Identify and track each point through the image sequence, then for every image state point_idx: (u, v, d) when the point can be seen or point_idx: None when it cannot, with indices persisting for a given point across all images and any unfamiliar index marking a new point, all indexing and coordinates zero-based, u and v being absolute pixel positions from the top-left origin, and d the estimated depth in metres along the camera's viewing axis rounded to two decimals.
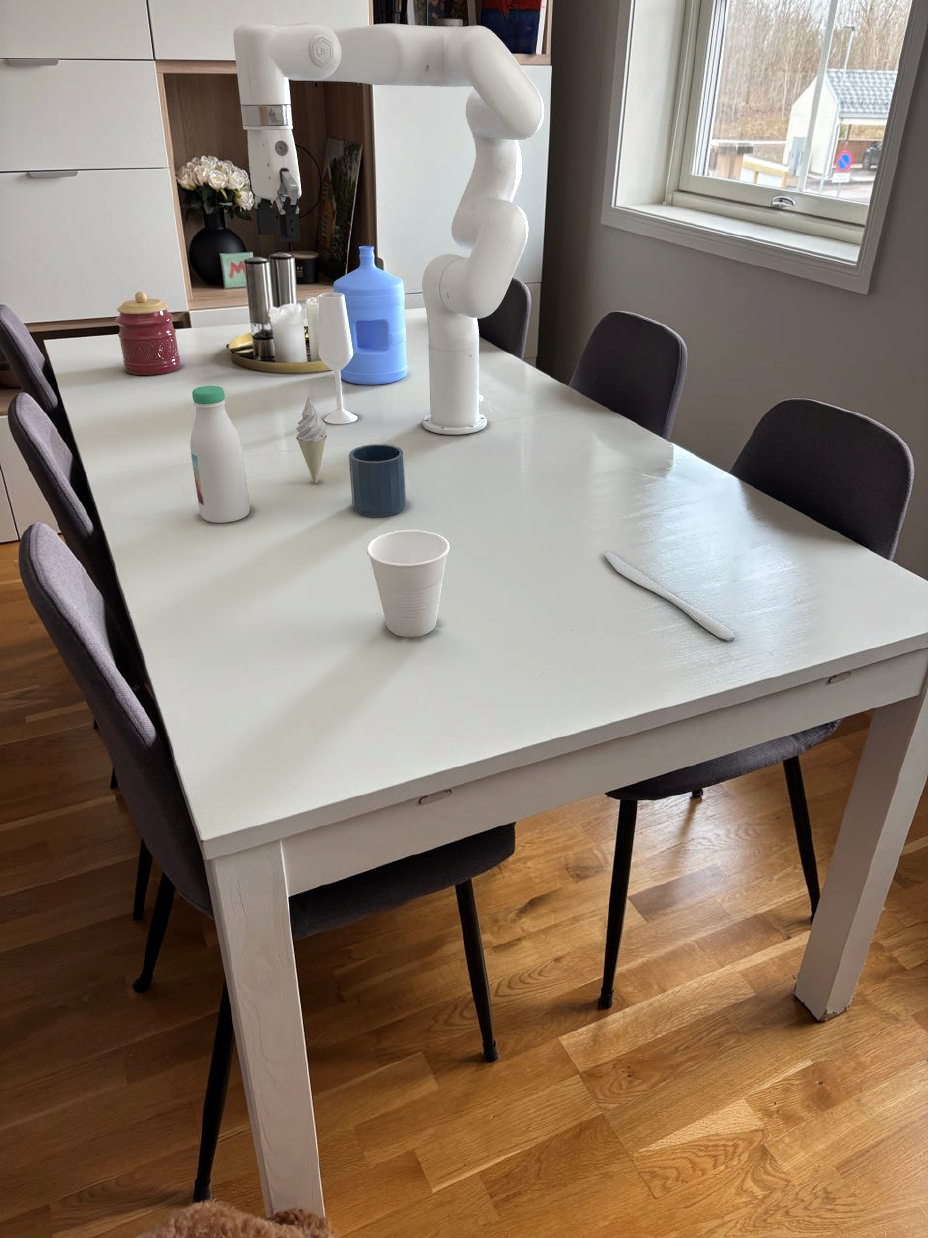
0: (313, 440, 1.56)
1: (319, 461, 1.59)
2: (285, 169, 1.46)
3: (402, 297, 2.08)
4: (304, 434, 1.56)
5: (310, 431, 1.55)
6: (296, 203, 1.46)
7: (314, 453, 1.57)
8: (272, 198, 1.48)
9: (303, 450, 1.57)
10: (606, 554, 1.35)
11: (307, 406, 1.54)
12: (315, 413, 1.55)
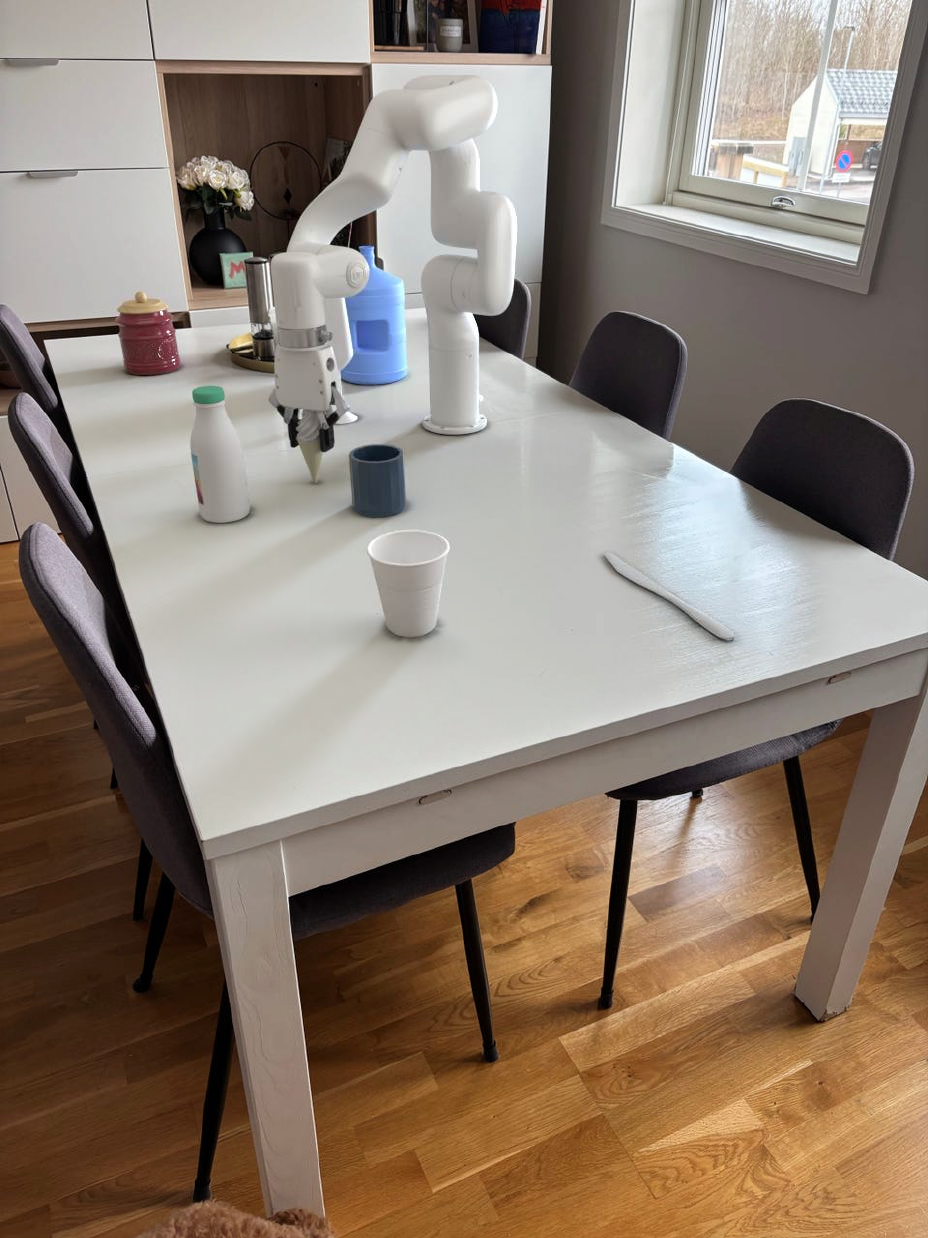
0: (313, 440, 1.56)
1: (319, 461, 1.59)
2: (332, 385, 1.52)
3: (402, 297, 2.08)
4: (304, 434, 1.56)
5: (310, 431, 1.55)
6: (340, 417, 1.54)
7: (314, 453, 1.57)
8: (321, 410, 1.52)
9: (303, 450, 1.57)
10: (606, 554, 1.35)
11: None
12: (315, 413, 1.55)
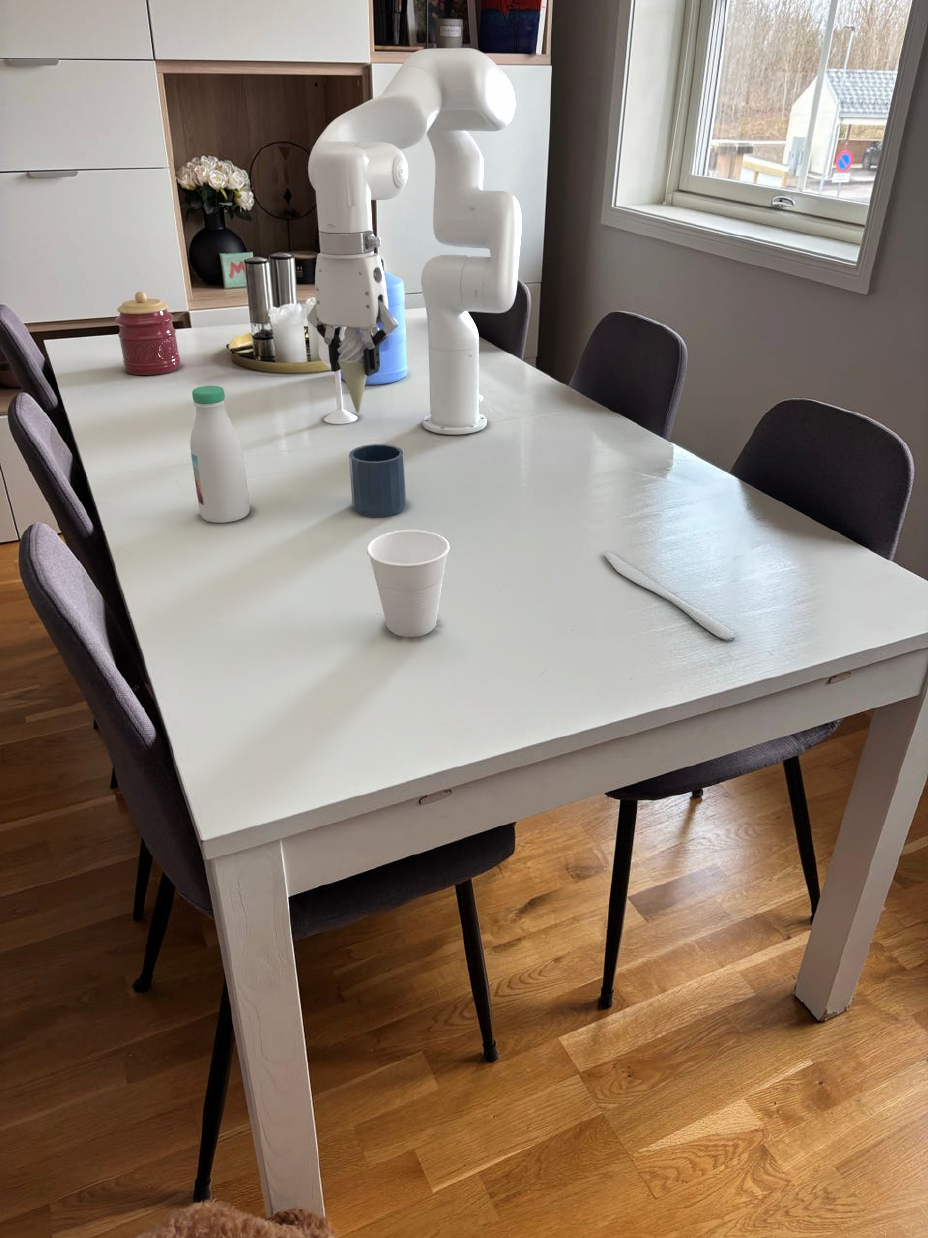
0: (356, 362, 1.41)
1: (362, 387, 1.44)
2: (379, 299, 1.37)
3: (402, 297, 2.08)
4: (346, 355, 1.41)
5: (353, 352, 1.40)
6: (387, 335, 1.40)
7: (357, 377, 1.43)
8: (367, 327, 1.38)
9: (345, 374, 1.43)
10: (606, 554, 1.35)
11: None
12: (359, 332, 1.41)
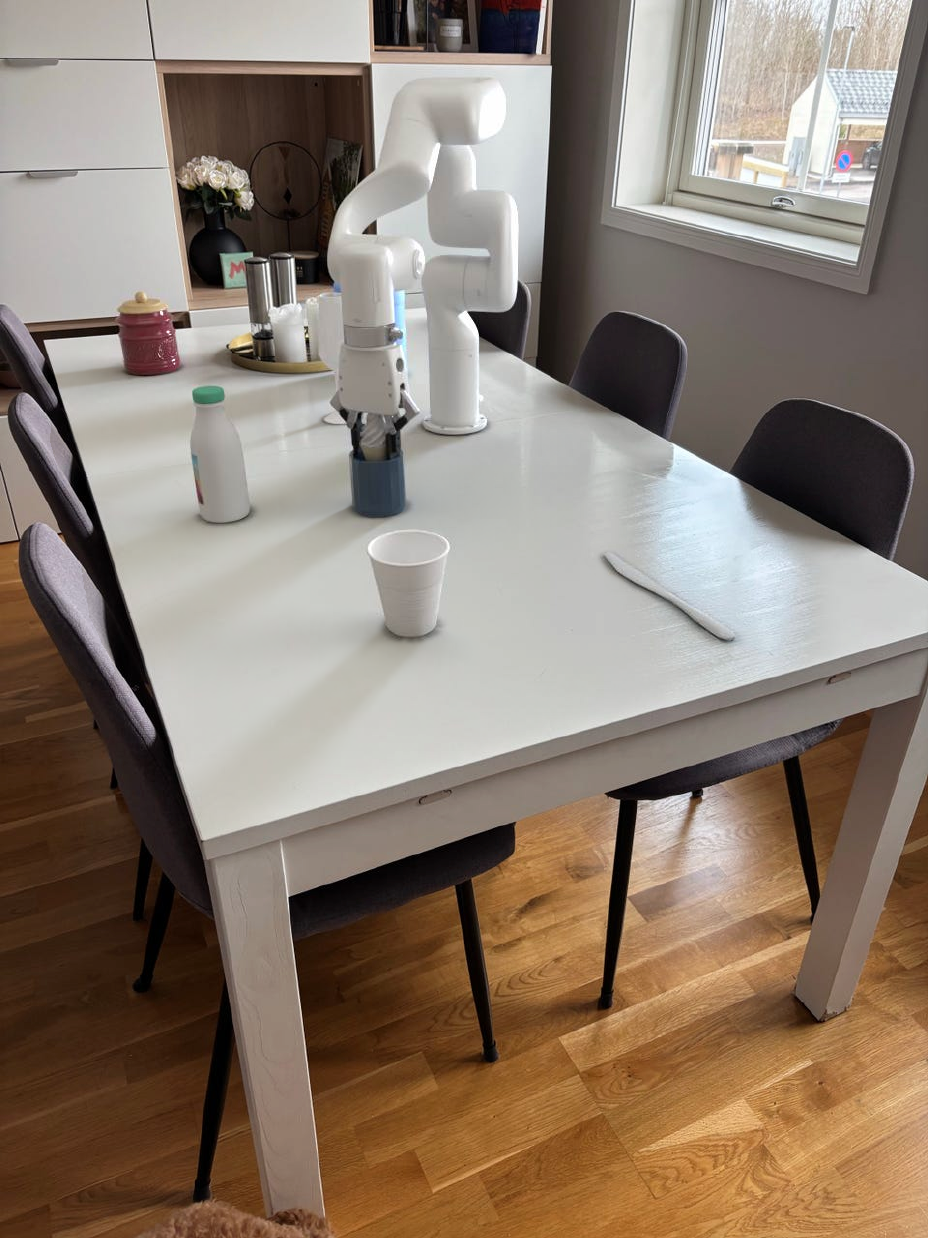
0: (378, 446, 1.45)
1: None
2: (401, 387, 1.41)
3: (402, 297, 2.08)
4: (368, 440, 1.45)
5: (375, 436, 1.44)
6: (408, 421, 1.43)
7: (379, 460, 1.47)
8: (389, 414, 1.41)
9: (367, 457, 1.47)
10: (606, 554, 1.35)
11: None
12: (380, 417, 1.44)
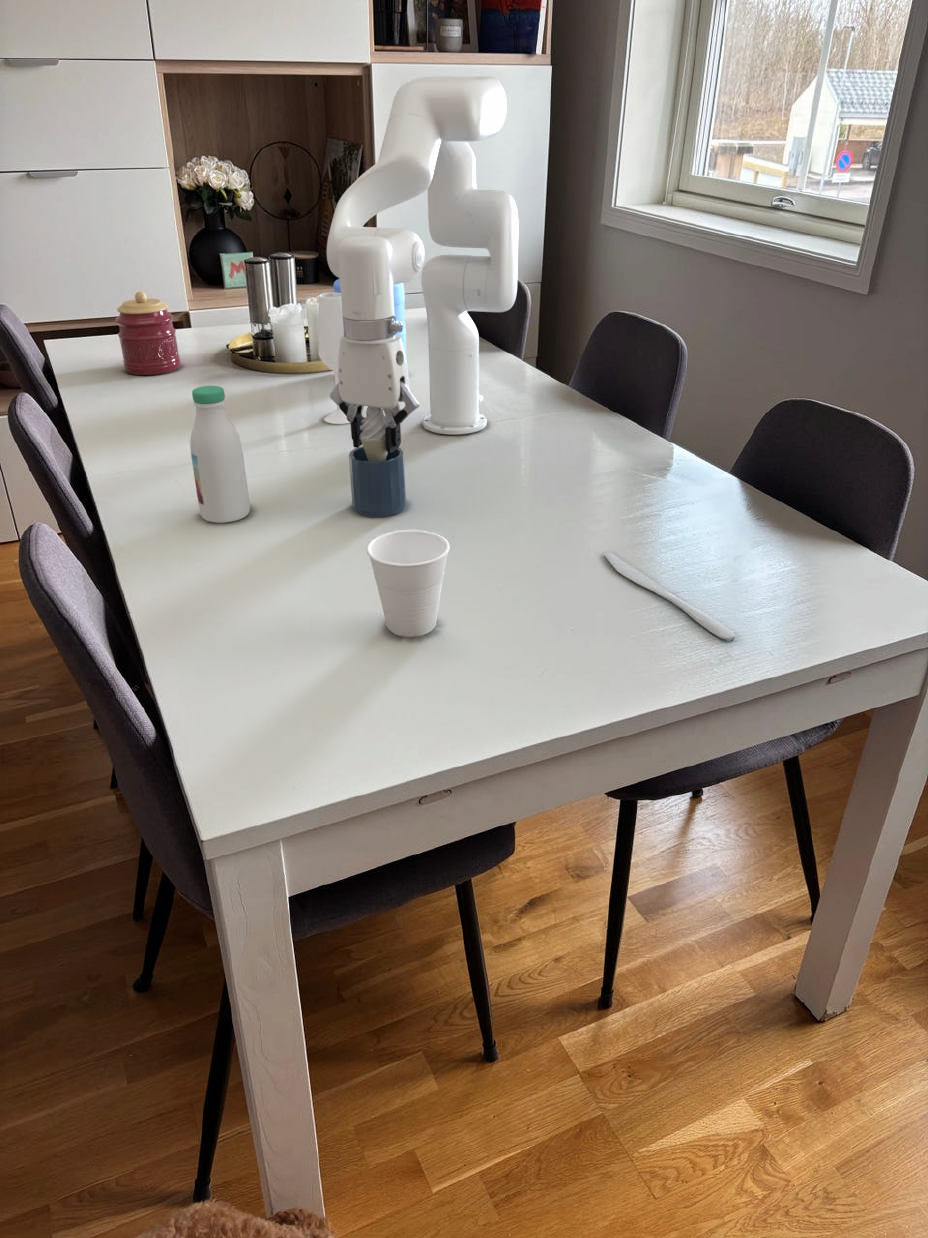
0: (378, 440, 1.45)
1: None
2: (401, 380, 1.41)
3: (402, 297, 2.08)
4: (368, 433, 1.45)
5: (375, 430, 1.44)
6: None
7: (379, 454, 1.46)
8: (389, 407, 1.41)
9: (367, 450, 1.46)
10: (606, 554, 1.35)
11: None
12: (380, 410, 1.44)
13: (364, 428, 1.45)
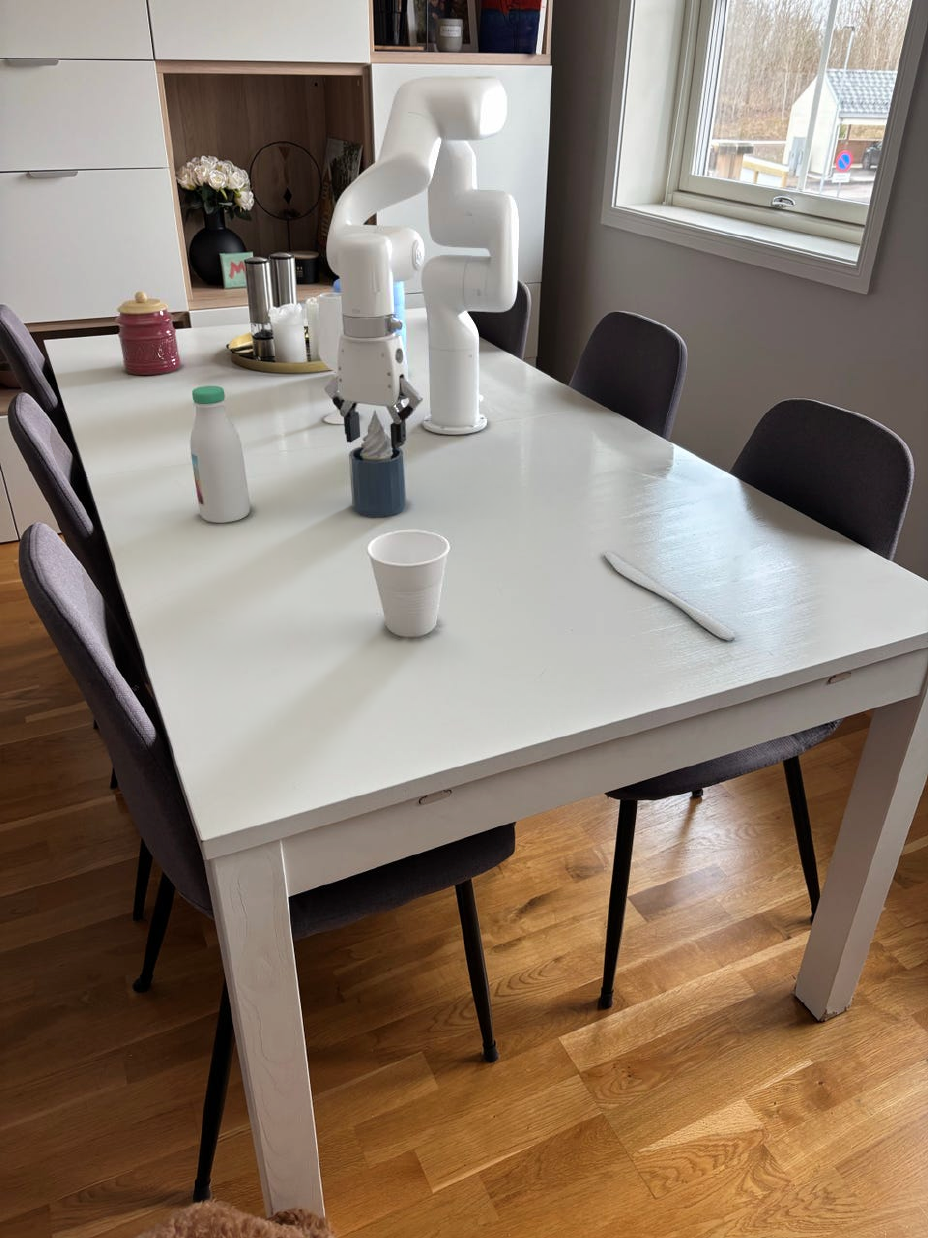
0: (379, 457, 1.46)
1: None
2: (401, 377, 1.40)
3: (402, 297, 2.08)
4: (369, 451, 1.46)
5: (376, 447, 1.45)
6: (413, 411, 1.42)
7: None
8: (389, 405, 1.41)
9: None
10: (606, 554, 1.35)
11: (373, 421, 1.45)
12: (382, 428, 1.45)
13: (365, 445, 1.46)
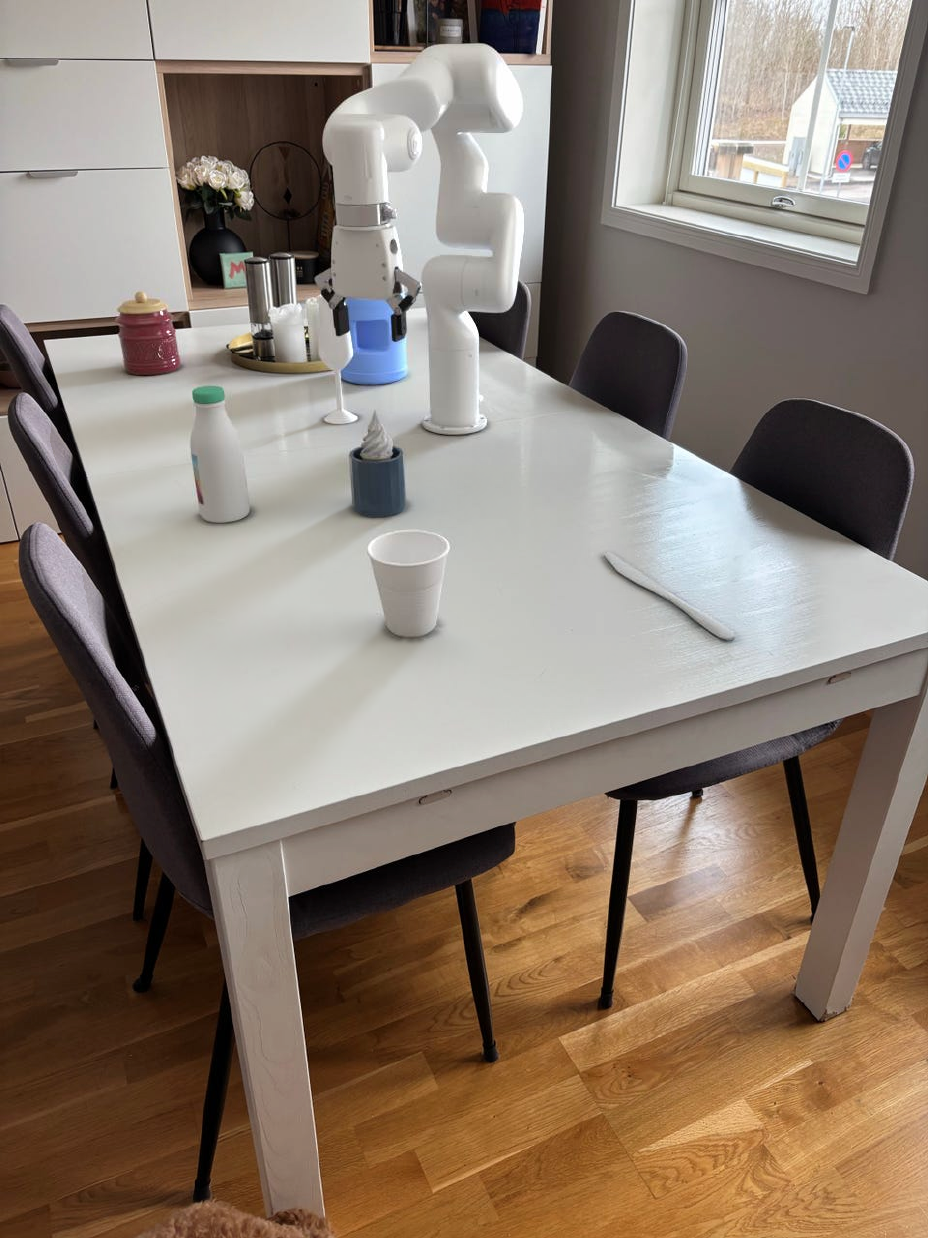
0: (379, 457, 1.46)
1: None
2: (396, 267, 1.38)
3: None
4: (369, 451, 1.46)
5: (376, 447, 1.45)
6: (414, 301, 1.40)
7: None
8: (384, 299, 1.39)
9: None
10: (606, 554, 1.35)
11: (373, 421, 1.45)
12: (382, 428, 1.45)
13: (365, 445, 1.46)
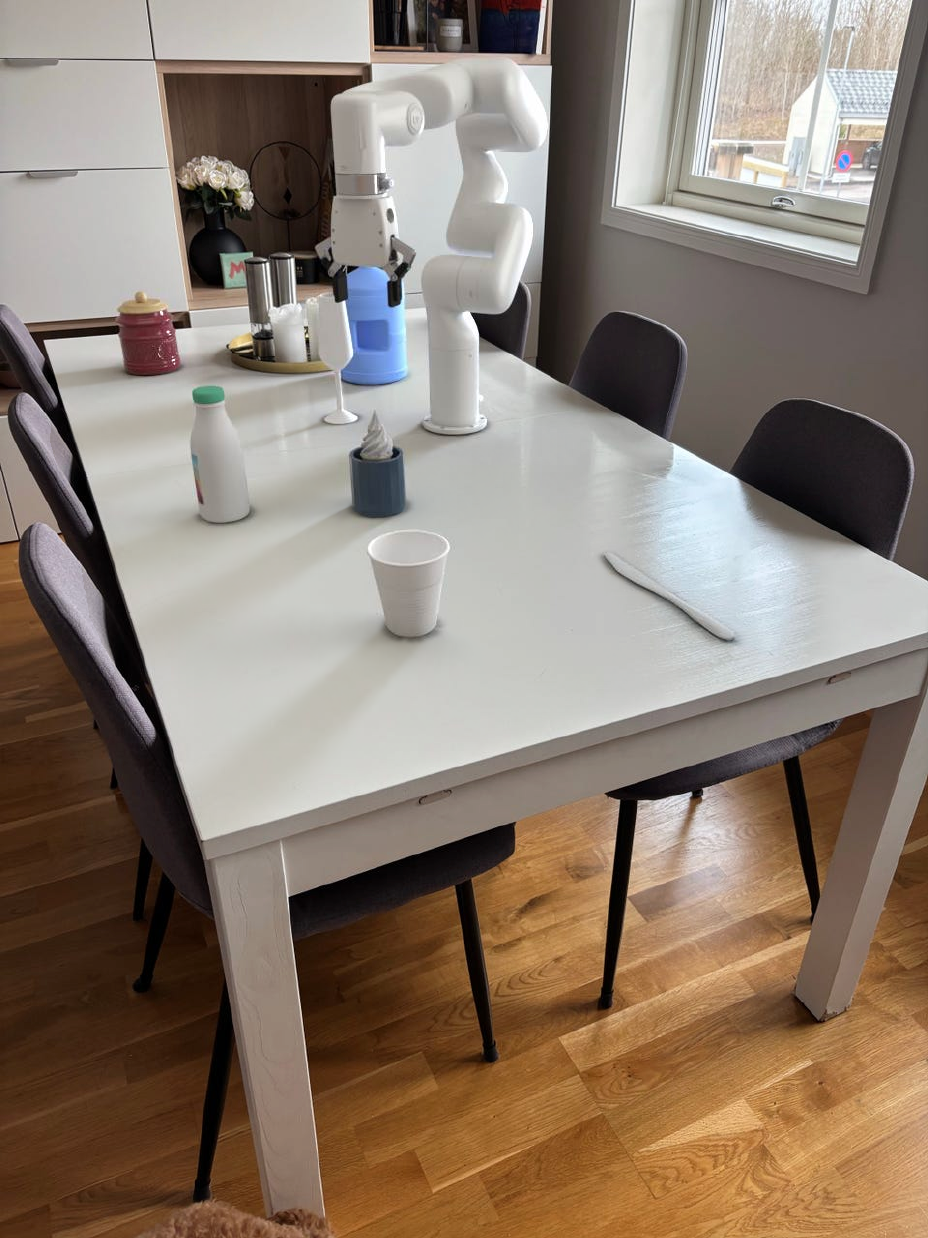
0: (379, 457, 1.46)
1: None
2: (392, 235, 1.46)
3: (402, 297, 2.08)
4: (369, 451, 1.46)
5: (376, 447, 1.45)
6: (409, 268, 1.47)
7: None
8: (380, 265, 1.46)
9: None
10: (606, 554, 1.35)
11: (373, 421, 1.45)
12: (382, 428, 1.45)
13: (365, 445, 1.46)
